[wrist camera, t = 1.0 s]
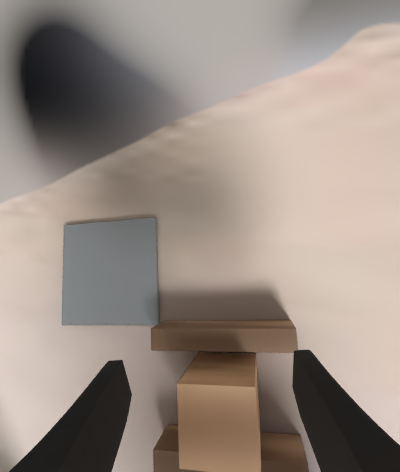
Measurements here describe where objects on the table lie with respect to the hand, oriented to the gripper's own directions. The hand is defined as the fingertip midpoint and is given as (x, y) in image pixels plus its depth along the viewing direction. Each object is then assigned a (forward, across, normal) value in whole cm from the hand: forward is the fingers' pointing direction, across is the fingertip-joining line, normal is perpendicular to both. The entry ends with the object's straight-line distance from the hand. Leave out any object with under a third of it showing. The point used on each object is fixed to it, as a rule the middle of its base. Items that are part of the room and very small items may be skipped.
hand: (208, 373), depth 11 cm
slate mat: (+12, +9, +1) cm, 15 cm away
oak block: (+7, -1, +9) cm, 11 cm away
